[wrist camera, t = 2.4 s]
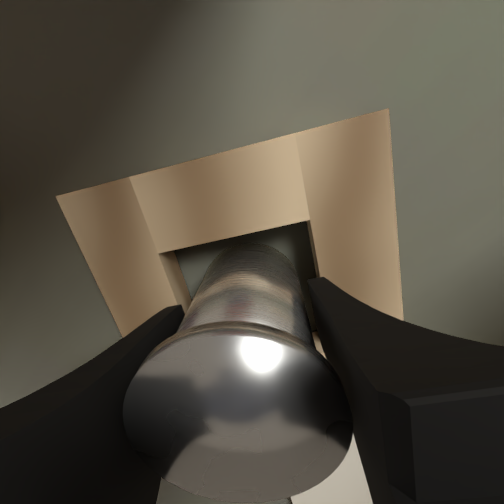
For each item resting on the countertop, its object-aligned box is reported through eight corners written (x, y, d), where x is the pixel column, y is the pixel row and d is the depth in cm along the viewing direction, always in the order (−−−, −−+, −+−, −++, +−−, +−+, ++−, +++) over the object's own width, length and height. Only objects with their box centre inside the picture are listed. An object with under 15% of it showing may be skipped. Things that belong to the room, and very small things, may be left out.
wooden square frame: (371, 114, 10) (388, 107, 9) (394, 368, 14) (408, 392, 12) (80, 191, 12) (55, 196, 10) (174, 400, 15) (165, 425, 14)
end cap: (296, 222, 12) (336, 315, 5) (316, 324, 13) (365, 492, 7) (182, 247, 12) (83, 359, 6) (214, 341, 14) (167, 510, 7)
